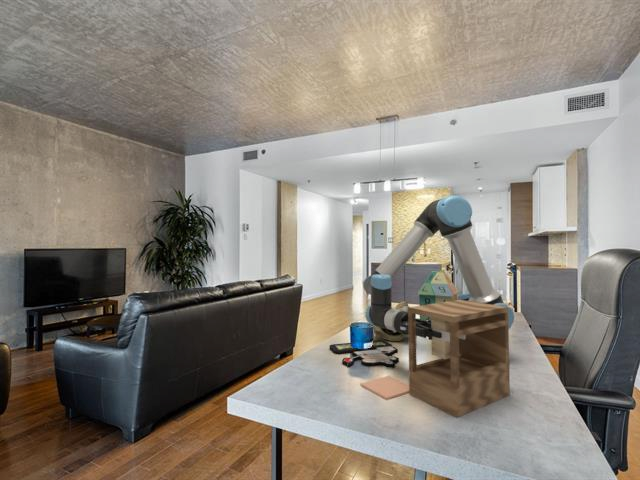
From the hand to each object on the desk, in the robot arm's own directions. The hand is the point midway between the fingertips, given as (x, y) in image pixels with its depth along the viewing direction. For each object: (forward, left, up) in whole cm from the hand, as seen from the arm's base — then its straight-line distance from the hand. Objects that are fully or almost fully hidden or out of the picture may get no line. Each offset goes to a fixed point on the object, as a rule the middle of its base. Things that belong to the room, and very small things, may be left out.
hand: (458, 336), depth 101 cm
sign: (-1, -42, -18) cm, 46 cm away
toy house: (-58, -55, -17) cm, 82 cm away
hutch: (0, 0, -17) cm, 17 cm away
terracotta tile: (+14, -15, -17) cm, 27 cm away
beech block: (0, -5, -7) cm, 9 cm away
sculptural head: (-27, -56, -17) cm, 65 cm away
